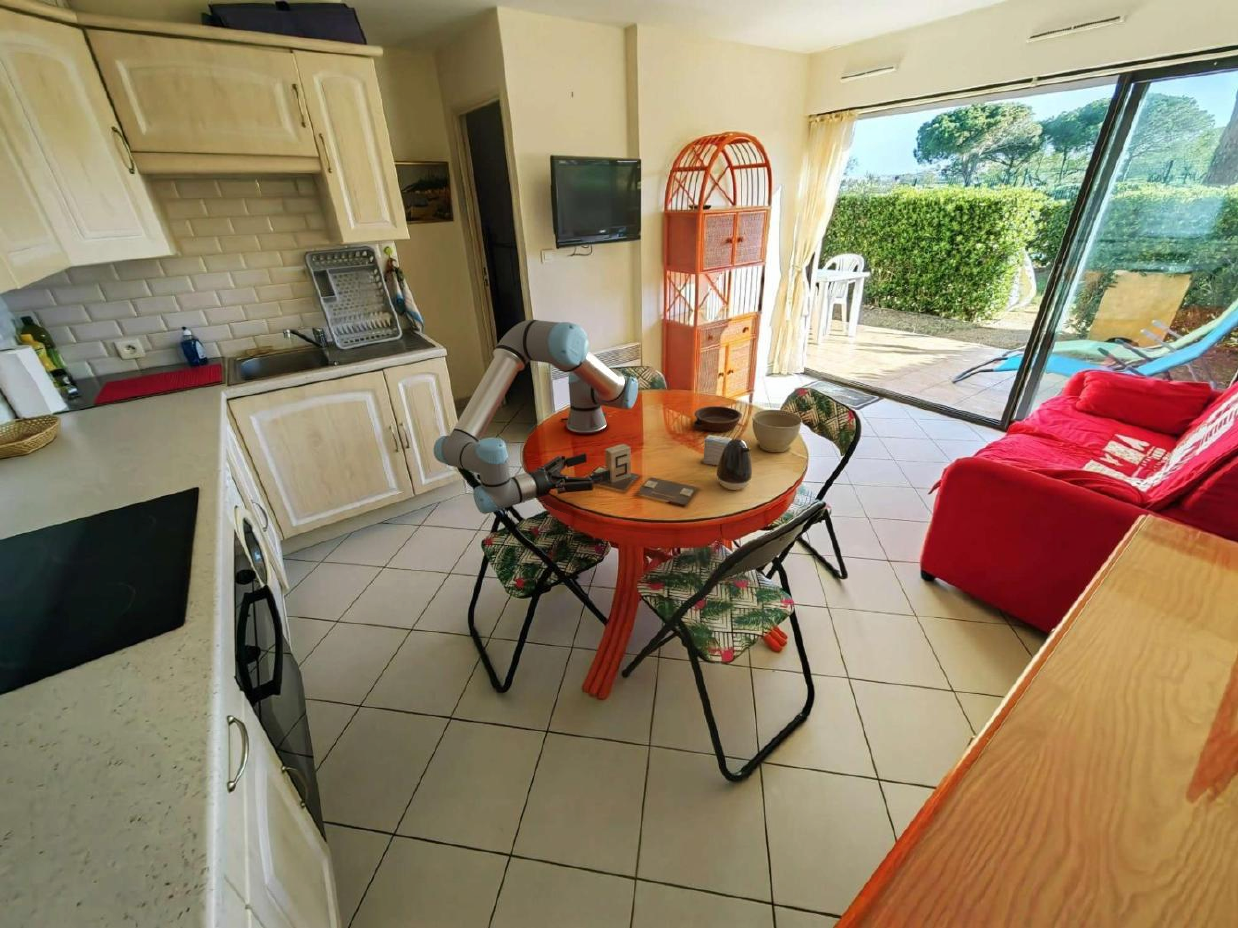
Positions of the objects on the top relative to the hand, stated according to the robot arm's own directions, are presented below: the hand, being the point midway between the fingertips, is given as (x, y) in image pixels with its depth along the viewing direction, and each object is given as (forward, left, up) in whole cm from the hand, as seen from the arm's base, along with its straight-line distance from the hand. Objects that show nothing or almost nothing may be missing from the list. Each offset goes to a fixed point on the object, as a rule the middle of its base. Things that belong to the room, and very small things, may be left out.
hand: (597, 465), depth 150 cm
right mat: (+20, +5, -7) cm, 22 cm away
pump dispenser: (+37, +17, -7) cm, 41 cm away
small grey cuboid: (+4, +6, -6) cm, 10 cm away
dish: (+19, +61, -7) cm, 65 cm away
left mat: (+2, +5, -7) cm, 9 cm away
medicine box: (+28, +30, -7) cm, 42 cm away
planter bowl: (+42, +50, -7) cm, 66 cm away
